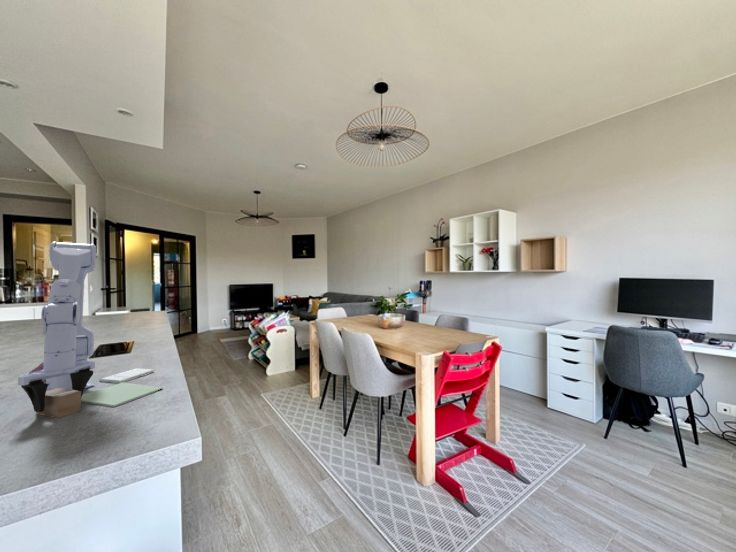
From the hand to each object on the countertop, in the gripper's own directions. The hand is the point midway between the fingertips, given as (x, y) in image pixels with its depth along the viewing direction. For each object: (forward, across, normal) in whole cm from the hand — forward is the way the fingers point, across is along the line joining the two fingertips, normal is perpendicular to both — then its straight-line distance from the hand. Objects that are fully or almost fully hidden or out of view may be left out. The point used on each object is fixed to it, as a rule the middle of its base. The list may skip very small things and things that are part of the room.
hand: (58, 405), depth 77 cm
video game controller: (+2, +16, +36) cm, 40 cm away
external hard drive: (+2, +26, +12) cm, 29 cm away
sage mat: (+2, +13, -2) cm, 13 cm away
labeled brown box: (+2, 0, 0) cm, 2 cm away
